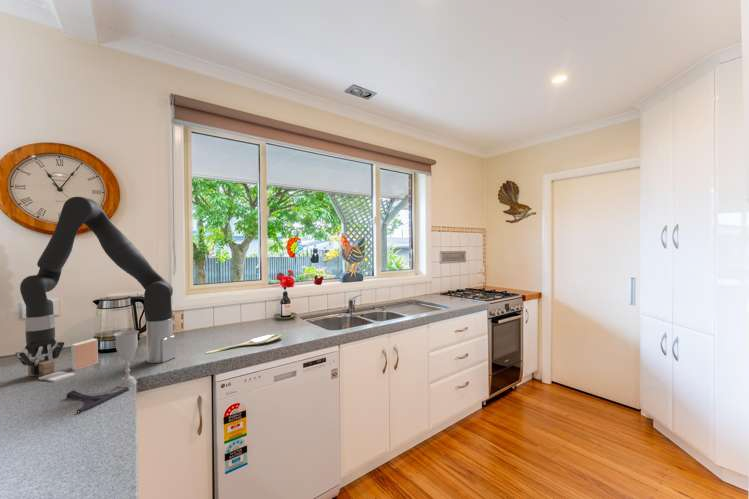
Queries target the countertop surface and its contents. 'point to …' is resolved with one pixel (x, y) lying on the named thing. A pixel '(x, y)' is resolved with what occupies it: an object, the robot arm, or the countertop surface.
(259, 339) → the spoon
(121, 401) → the countertop surface
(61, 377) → the turner
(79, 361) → the tile
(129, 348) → the chalice
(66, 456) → the countertop surface
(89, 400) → the bracket
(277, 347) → the countertop surface
